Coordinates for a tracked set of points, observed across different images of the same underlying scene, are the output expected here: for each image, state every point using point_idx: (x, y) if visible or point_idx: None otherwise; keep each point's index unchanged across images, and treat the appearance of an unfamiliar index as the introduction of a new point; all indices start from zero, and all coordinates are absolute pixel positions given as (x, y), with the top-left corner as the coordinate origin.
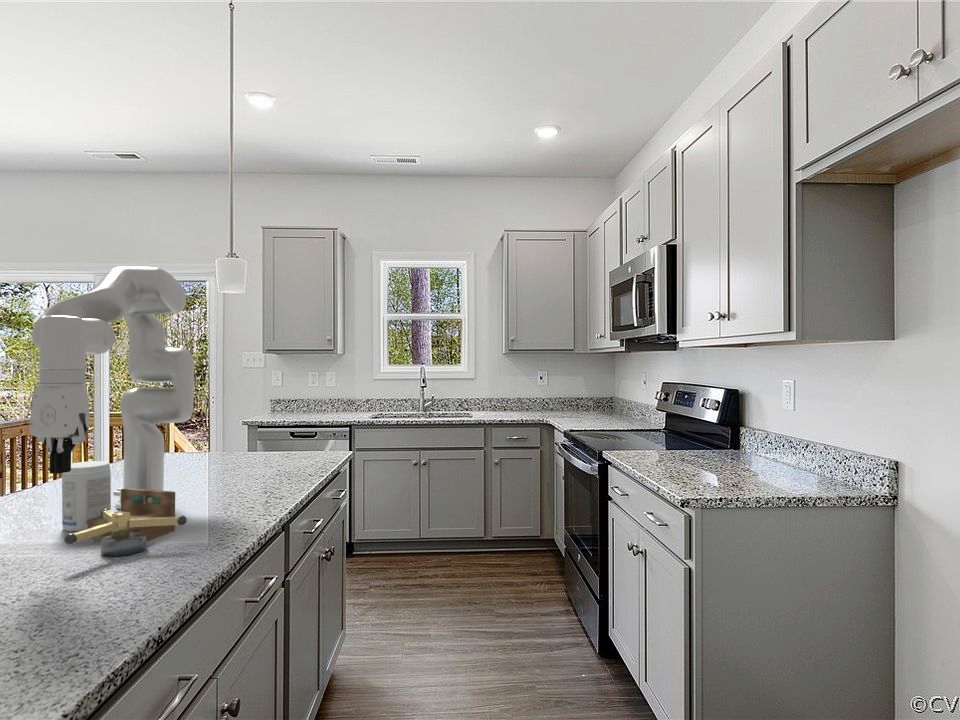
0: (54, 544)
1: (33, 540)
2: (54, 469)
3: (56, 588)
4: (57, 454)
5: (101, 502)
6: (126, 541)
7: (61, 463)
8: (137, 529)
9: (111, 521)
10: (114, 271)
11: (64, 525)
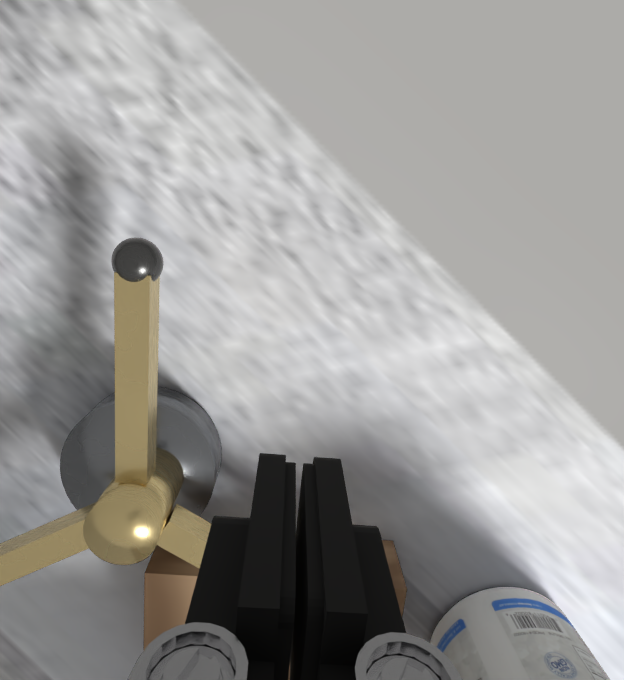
0: (446, 461)
1: (554, 483)
2: (273, 468)
3: (34, 60)
4: (240, 608)
5: None
6: (85, 434)
7: (226, 546)
8: (164, 559)
9: None
10: None
11: (540, 600)
